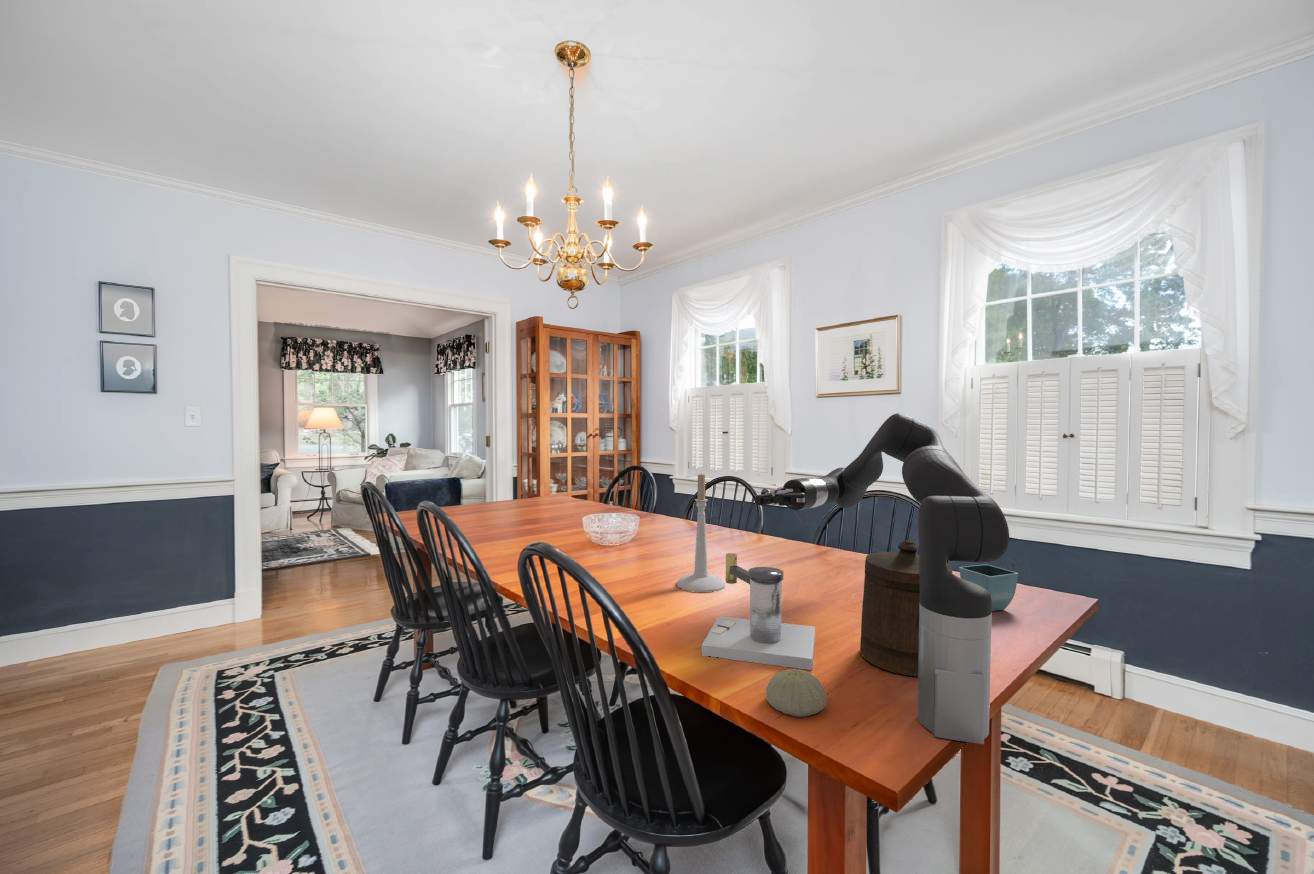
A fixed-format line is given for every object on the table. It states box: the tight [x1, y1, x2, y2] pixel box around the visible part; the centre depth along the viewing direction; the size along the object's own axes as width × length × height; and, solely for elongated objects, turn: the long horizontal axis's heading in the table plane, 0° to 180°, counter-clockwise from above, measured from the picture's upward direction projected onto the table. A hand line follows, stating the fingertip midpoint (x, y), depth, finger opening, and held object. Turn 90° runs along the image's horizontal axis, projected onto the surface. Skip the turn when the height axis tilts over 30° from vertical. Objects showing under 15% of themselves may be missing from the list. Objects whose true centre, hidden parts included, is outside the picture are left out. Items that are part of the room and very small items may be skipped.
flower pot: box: [958, 563, 1019, 612], centre depth 131 cm, size 9×9×9 cm
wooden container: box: [859, 539, 953, 678], centre depth 103 cm, size 15×15×22 cm
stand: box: [701, 615, 816, 671], centre depth 109 cm, size 16×20×2 cm
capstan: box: [725, 552, 785, 642], centre depth 113 cm, size 18×7×13 cm, turn 21°
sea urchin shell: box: [765, 668, 828, 718], centre depth 87 cm, size 9×8×8 cm
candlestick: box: [676, 473, 726, 593], centre depth 148 cm, size 13×13×30 cm
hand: (757, 500), depth 127 cm, fingers closed
